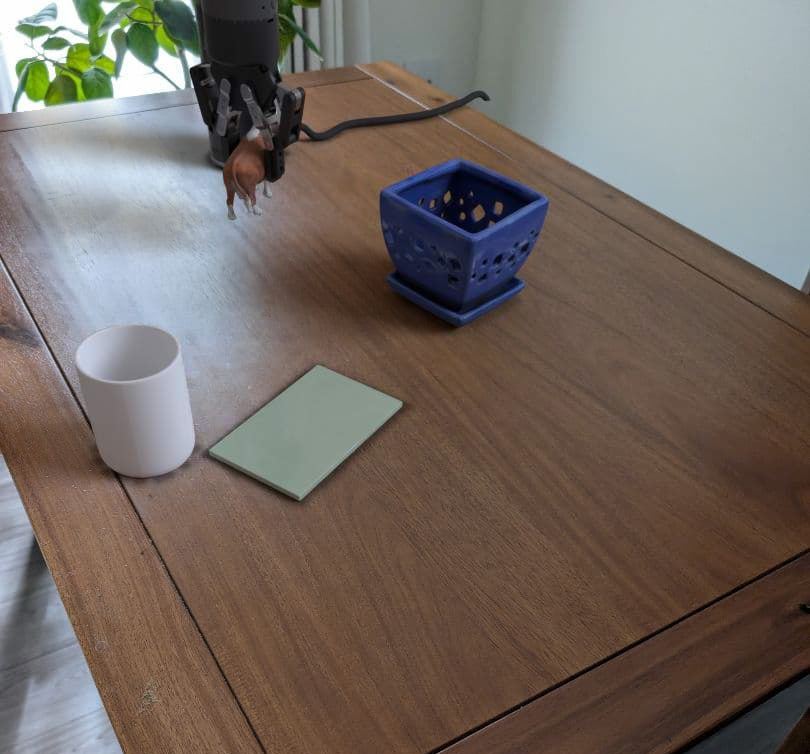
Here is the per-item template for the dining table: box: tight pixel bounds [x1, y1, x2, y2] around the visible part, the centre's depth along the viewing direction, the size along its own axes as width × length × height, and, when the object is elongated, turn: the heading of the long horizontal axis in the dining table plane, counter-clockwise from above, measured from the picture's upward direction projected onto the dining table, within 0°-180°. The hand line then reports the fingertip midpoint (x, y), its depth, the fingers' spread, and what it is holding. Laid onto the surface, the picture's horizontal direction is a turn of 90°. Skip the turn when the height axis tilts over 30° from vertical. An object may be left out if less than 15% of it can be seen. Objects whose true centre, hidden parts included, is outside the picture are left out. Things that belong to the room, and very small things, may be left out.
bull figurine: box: [222, 114, 274, 221], centre depth 98 cm, size 4×13×8 cm, turn 164°
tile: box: [208, 364, 403, 502], centre depth 79 cm, size 16×10×1 cm, turn 147°
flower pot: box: [379, 157, 550, 328], centre depth 91 cm, size 13×13×12 cm
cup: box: [73, 322, 196, 479], centre depth 73 cm, size 8×12×10 cm
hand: (254, 172), depth 98 cm, fingers closed on bull figurine, 5 cm apart
